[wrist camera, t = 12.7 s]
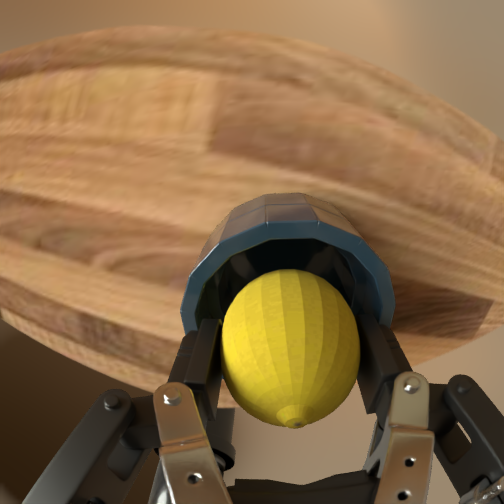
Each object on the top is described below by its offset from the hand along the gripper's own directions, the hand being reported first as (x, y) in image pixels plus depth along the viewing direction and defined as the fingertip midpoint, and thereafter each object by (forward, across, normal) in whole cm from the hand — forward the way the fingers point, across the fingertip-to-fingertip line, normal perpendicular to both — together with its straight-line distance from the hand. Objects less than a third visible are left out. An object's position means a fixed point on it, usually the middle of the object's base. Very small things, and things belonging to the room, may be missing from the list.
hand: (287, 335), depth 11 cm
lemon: (+4, 0, 0) cm, 4 cm away
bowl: (+6, 0, 0) cm, 6 cm away
